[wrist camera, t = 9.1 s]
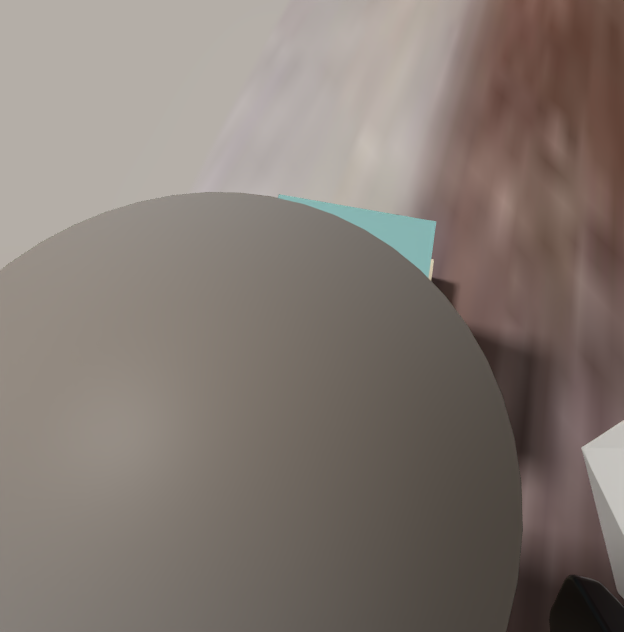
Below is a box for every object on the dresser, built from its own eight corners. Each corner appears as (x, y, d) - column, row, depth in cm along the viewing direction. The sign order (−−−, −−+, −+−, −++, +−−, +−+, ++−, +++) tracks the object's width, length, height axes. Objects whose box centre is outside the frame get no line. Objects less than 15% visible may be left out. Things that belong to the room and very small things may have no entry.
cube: (389, 416, 15) (415, 373, 11) (255, 387, 16) (234, 336, 12) (407, 296, 17) (436, 221, 13) (287, 273, 18) (279, 194, 14)
